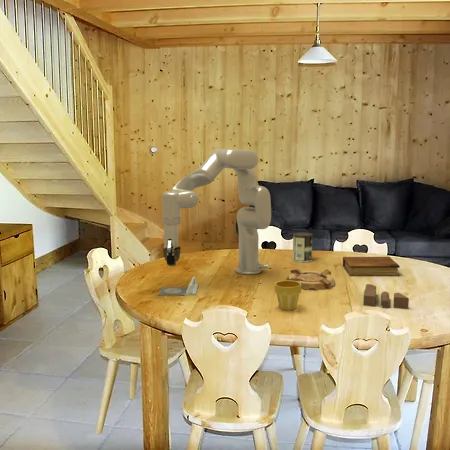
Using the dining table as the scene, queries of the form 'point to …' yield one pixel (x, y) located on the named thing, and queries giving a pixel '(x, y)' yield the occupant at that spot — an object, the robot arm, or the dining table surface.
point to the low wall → (192, 287)
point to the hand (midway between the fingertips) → (172, 262)
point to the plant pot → (288, 294)
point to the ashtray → (313, 279)
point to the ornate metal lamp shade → (176, 253)
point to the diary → (370, 266)
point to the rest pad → (173, 291)
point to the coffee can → (302, 247)
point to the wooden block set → (384, 298)
